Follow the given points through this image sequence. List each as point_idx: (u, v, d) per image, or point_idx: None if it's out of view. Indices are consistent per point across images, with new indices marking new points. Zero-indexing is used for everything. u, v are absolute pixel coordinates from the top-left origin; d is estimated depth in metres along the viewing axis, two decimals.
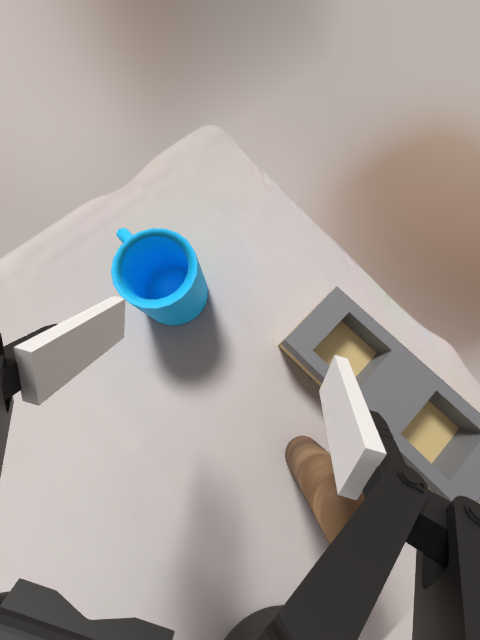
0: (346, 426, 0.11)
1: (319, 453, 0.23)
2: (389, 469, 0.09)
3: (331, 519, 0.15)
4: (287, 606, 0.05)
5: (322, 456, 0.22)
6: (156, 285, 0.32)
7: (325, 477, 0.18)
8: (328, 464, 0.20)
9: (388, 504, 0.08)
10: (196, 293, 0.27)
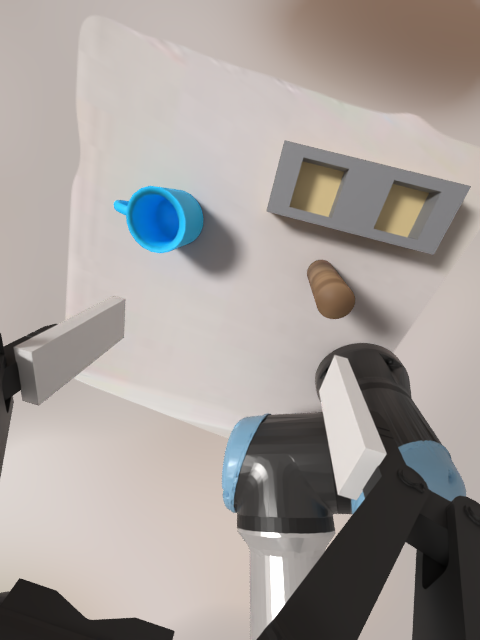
0: (346, 426, 0.11)
1: (318, 272, 0.35)
2: (389, 469, 0.09)
3: (320, 306, 0.29)
4: (287, 606, 0.05)
5: (319, 273, 0.34)
6: (163, 222, 0.41)
7: (316, 287, 0.31)
8: (320, 277, 0.32)
9: (388, 504, 0.08)
10: (191, 217, 0.36)
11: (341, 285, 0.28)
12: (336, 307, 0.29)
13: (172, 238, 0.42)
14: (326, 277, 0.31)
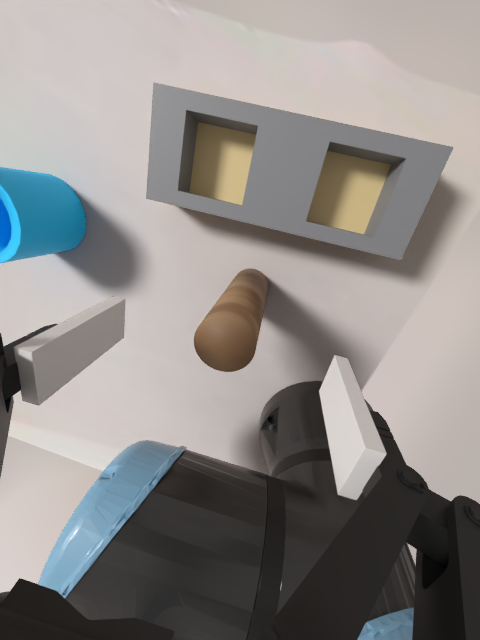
0: (346, 426, 0.11)
1: (228, 288, 0.23)
2: (389, 469, 0.09)
3: (201, 351, 0.17)
4: (287, 606, 0.05)
5: (226, 291, 0.22)
6: None
7: None
8: (219, 299, 0.20)
9: (388, 504, 0.08)
10: (41, 209, 0.24)
11: (229, 317, 0.16)
12: (227, 354, 0.17)
13: None
14: (222, 300, 0.19)
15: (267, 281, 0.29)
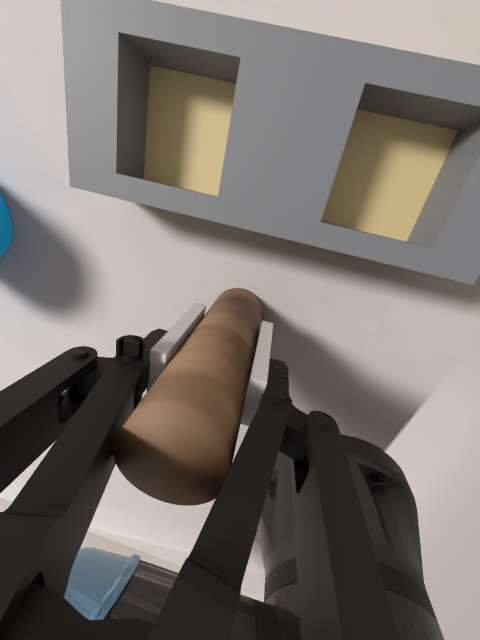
0: (251, 370, 0.14)
1: (197, 327, 0.15)
2: (264, 397, 0.11)
3: (130, 470, 0.09)
4: (200, 537, 0.06)
5: (193, 334, 0.14)
6: None
7: (149, 390, 0.11)
8: (177, 354, 0.12)
9: (266, 423, 0.10)
10: None
11: (173, 420, 0.08)
12: (177, 479, 0.09)
13: None
14: (178, 361, 0.11)
15: (261, 305, 0.21)
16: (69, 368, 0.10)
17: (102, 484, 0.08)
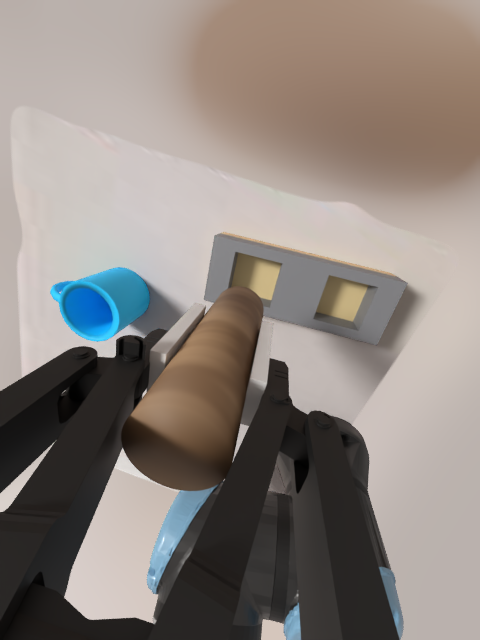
0: (251, 370, 0.14)
1: (200, 323, 0.15)
2: (264, 396, 0.11)
3: (137, 457, 0.10)
4: (200, 537, 0.06)
5: (196, 330, 0.14)
6: None
7: None
8: (181, 348, 0.13)
9: (266, 423, 0.10)
10: (128, 303, 0.35)
11: (179, 408, 0.08)
12: (183, 465, 0.09)
13: None
14: (183, 354, 0.12)
15: (262, 303, 0.21)
16: (69, 368, 0.10)
17: (102, 484, 0.08)
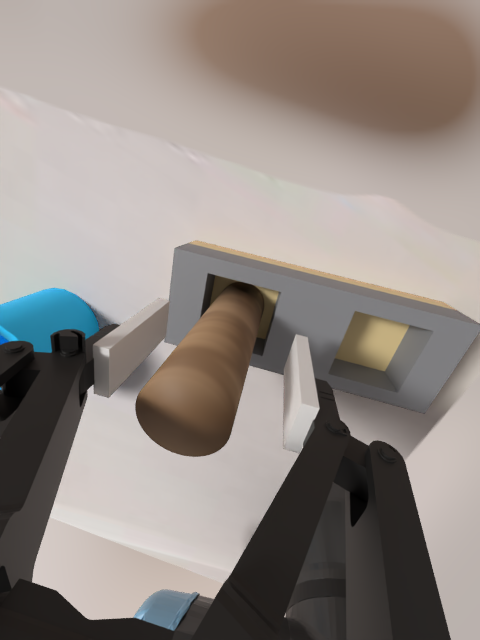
0: (294, 391, 0.13)
1: (204, 314, 0.17)
2: (319, 422, 0.10)
3: (149, 426, 0.11)
4: (241, 561, 0.06)
5: (200, 319, 0.16)
6: None
7: None
8: (187, 335, 0.14)
9: (319, 452, 0.09)
10: None
11: (186, 380, 0.10)
12: (189, 432, 0.11)
13: None
14: (189, 339, 0.13)
15: None
16: (3, 363, 0.10)
17: (56, 481, 0.08)
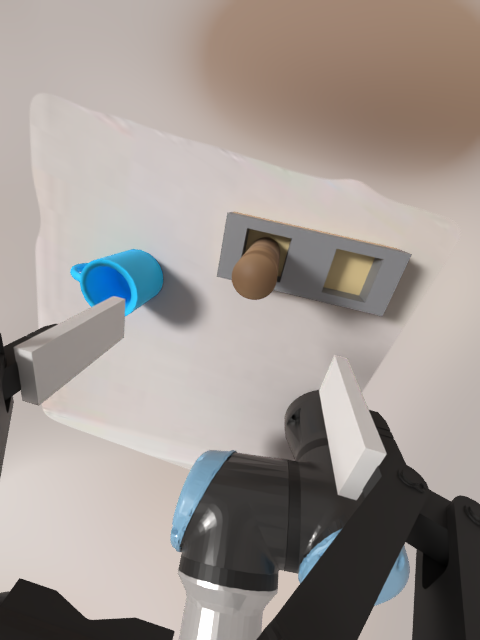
0: (346, 426, 0.11)
1: (250, 247, 0.29)
2: (389, 469, 0.09)
3: (237, 284, 0.24)
4: (287, 606, 0.05)
5: (249, 248, 0.28)
6: (123, 280, 0.42)
7: None
8: None
9: (388, 504, 0.08)
10: (145, 282, 0.37)
11: (258, 256, 0.22)
12: (256, 285, 0.23)
13: None
14: (249, 250, 0.26)
15: (279, 247, 0.35)
16: None
17: None
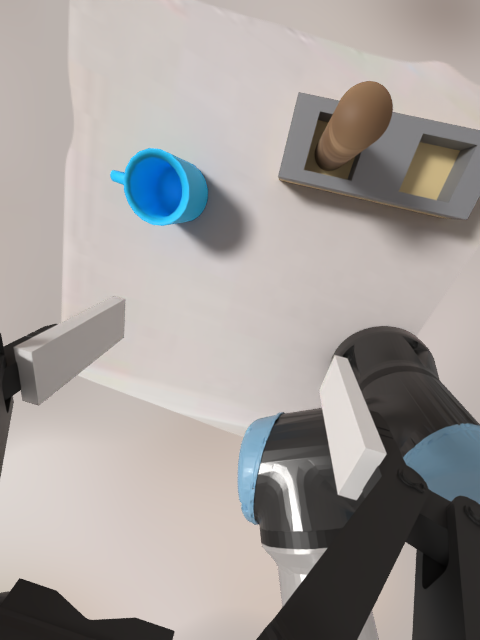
0: (346, 426, 0.11)
1: None
2: (389, 469, 0.09)
3: (340, 126, 0.20)
4: (287, 606, 0.05)
5: None
6: (164, 196, 0.38)
7: None
8: None
9: (388, 504, 0.08)
10: (195, 185, 0.33)
11: (372, 83, 0.19)
12: (364, 127, 0.20)
13: None
14: None
15: None
16: None
17: None
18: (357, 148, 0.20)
